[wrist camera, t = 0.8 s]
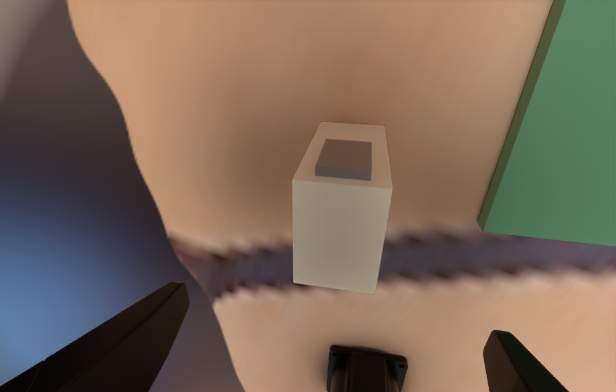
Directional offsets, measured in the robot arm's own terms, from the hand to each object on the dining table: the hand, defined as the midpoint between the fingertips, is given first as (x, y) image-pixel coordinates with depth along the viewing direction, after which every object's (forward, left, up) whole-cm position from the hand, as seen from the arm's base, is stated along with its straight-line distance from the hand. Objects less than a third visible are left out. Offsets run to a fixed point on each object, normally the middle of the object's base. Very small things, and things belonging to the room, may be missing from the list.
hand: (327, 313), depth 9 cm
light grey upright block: (0, 0, -11) cm, 11 cm away
